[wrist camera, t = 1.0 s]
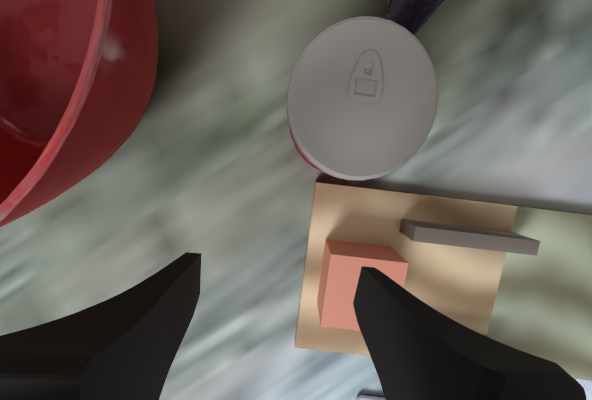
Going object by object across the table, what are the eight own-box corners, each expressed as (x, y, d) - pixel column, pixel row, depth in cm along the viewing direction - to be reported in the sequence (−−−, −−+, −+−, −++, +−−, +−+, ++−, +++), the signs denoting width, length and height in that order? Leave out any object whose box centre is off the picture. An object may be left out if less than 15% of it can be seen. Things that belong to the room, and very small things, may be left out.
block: (380, 307, 26) (395, 334, 22) (316, 300, 26) (320, 326, 22) (390, 246, 25) (408, 263, 21) (325, 239, 25) (330, 254, 21)
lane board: (588, 373, 28) (637, 408, 24) (294, 340, 28) (294, 371, 24) (635, 219, 26) (697, 230, 22) (315, 181, 25) (318, 185, 21)
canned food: (371, 73, 24) (434, 1, 13) (381, 165, 25) (445, 169, 14) (284, 86, 24) (274, 27, 13) (297, 177, 25) (297, 191, 14)
